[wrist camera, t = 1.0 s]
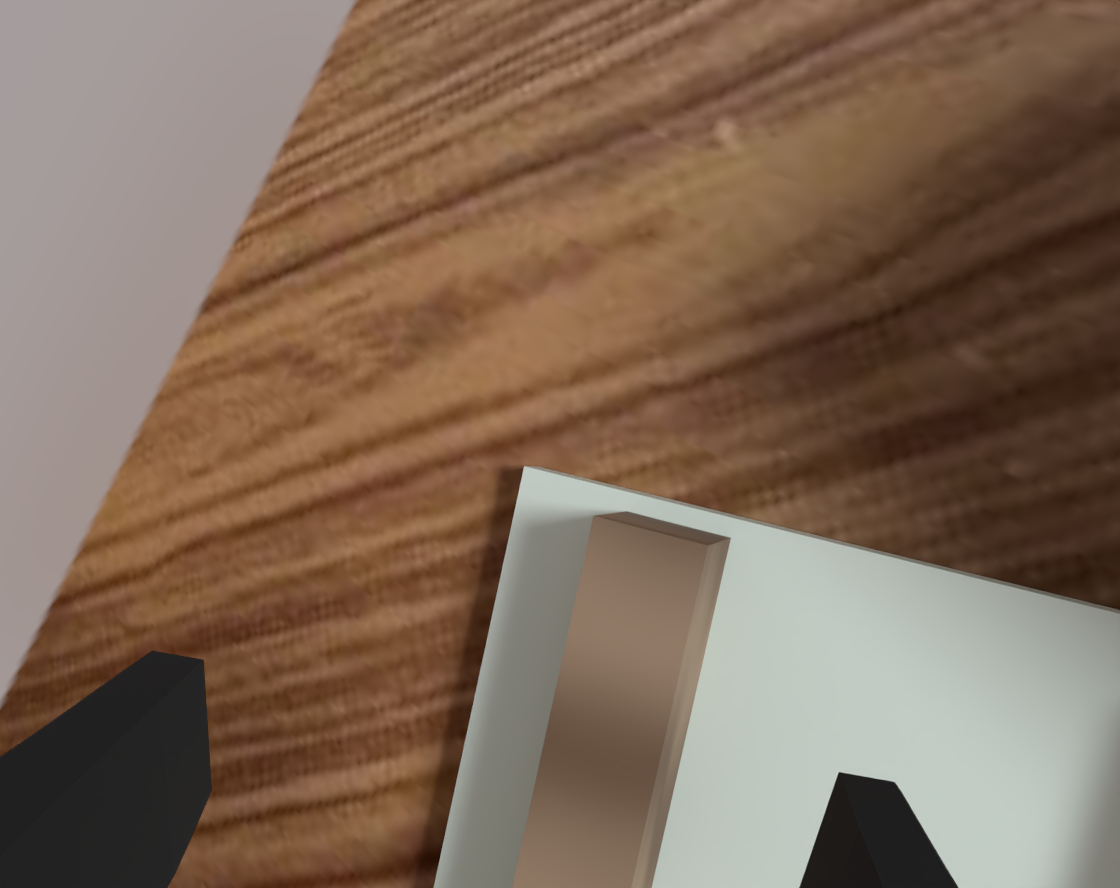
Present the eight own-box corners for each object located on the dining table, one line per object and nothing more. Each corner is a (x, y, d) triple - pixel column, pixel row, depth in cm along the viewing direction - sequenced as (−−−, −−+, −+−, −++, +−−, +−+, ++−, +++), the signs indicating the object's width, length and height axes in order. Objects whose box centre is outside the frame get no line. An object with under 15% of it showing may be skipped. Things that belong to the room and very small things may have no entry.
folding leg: (628, 988, 26) (590, 1055, 23) (530, 946, 27) (482, 1004, 24) (730, 537, 25) (705, 546, 22) (626, 511, 26) (589, 516, 23)
